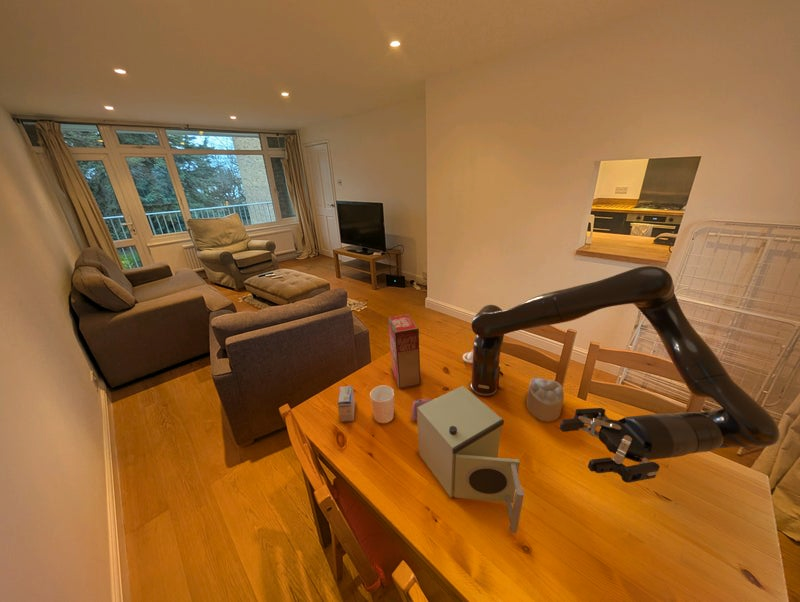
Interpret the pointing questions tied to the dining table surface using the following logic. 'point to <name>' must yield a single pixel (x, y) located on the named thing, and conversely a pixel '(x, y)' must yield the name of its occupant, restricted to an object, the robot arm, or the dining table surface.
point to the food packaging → (405, 350)
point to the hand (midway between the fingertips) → (574, 444)
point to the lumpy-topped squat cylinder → (545, 399)
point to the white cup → (382, 403)
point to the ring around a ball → (468, 357)
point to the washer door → (490, 482)
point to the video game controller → (417, 404)
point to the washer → (456, 433)
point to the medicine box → (346, 403)
